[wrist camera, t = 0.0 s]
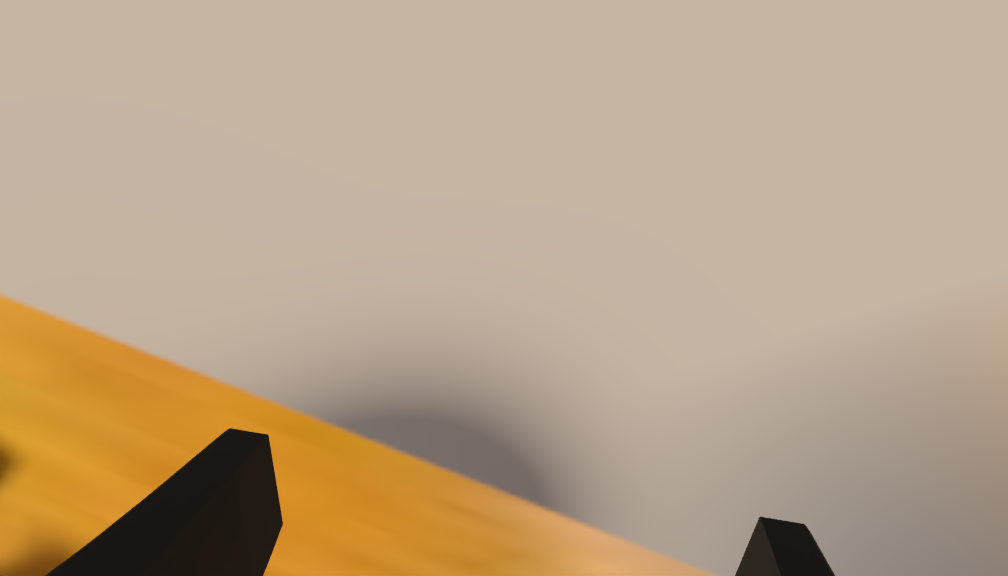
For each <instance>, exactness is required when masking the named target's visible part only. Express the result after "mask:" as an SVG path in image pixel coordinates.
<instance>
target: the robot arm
mask: <svg viewBox="0 0 1008 576" xmlns="http://www.w3.org/2000/svg"><path fill="white" fill-rule="evenodd" d="M282 525H283V522H282V516H281V510H280V503H279V497H278V491H277V485H276V479H275V473H274V467H273V460H272V454H271V448H270V442H269V436H268V435H266V434H260V433H254V432H248V431H242V430H236V429H228V430H227V431H225V432H224V433H223V434H221V435H220V436H219V437H218V438H217V439H215V440H214V441H213V442H212V443H211V444H209V445H208V446H207V447H206V448H205V449H203V450H202V451H201V452H200V453H199V454H197V455H196V456H195V457H194V458H193V459H191V460H190V461H189V462H188V463H187V464H185V465H184V466H183V467H182V468H181V469H179V470H178V471H177V472H176V473H175V474H174V475H172V476H171V477H170V478H169V479H168V480H166V481H165V482H164V483H163V484H161V485H160V486H159V487H158V488H157V489H155V490H154V491H153V492H152V493H151V494H149V495H148V496H147V497H146V498H145V499H143V500H142V501H141V502H140V503H138V504H137V505H136V506H135V507H133V508H132V509H131V510H130V511H128V512H127V513H126V514H125V515H123V516H122V517H121V518H120V519H118V520H117V521H116V522H115V523H113V524H112V525H111V526H110V527H108V528H107V529H106V530H105V531H103V532H102V533H101V534H100V535H98V536H97V537H96V538H95V539H93V540H92V541H91V542H89V543H88V544H87V545H86V546H84V547H83V548H82V549H80V550H79V551H78V552H76V553H75V554H74V555H72V556H71V557H70V558H68V559H67V560H66V561H64V562H63V563H61V564H60V565H59V566H57V567H56V568H55V569H53V570H52V571H51V572H49V573H48V574H47V575H45V576H263V574H264V572H265V569H266V567H267V564H268V562H269V559H270V557H271V554H272V551H273V549H274V546H275V543H276V541H277V538H278V535H279V533H280V530H281V527H282ZM735 576H835V575H834V573H833V571H832V570H831V568H830V566H829V564H828V563H827V561H826V559H825V557H824V556H823V554H822V552H821V550H820V549H819V547H818V545H817V543H816V541H815V540H814V538H813V536H812V534H811V533H810V531H809V530H808V528H807V527H806V526H805V525H804V524H801V523H795V522H788V521H782V520H777V519H771V518H764V517H759V520H758V522H757V525H756V527H755V529H754V532H753V534H752V537H751V539H750V541H749V544H748V546H747V548H746V551H745V553H744V556H743V558H742V561H741V563H740V565H739V568H738V570H737V572H736V575H735Z"/></svg>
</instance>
